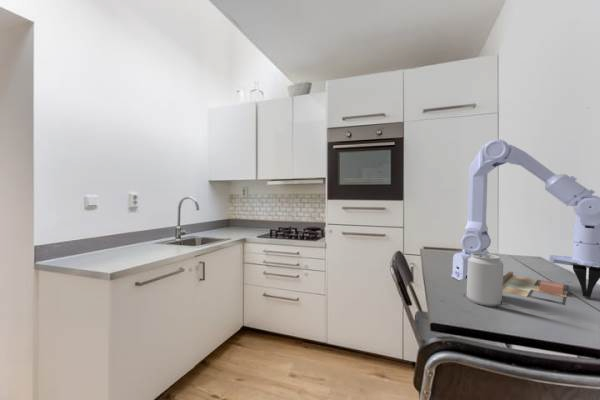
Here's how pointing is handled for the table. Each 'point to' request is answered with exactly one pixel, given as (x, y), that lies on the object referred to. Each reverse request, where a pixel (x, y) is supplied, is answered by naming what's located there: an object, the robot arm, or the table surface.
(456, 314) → the table surface
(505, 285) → the trap board
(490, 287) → the can
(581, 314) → the table surface
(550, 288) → the tile block
